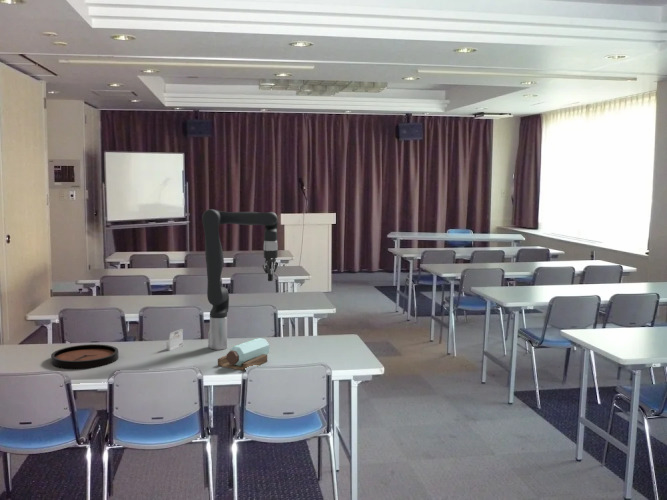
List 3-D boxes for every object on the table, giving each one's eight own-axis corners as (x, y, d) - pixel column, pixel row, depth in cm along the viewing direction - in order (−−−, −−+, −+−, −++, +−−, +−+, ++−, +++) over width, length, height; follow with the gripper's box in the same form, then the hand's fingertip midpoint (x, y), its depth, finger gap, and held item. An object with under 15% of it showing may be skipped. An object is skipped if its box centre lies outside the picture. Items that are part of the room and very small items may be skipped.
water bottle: (267, 359, 323) (235, 372, 302) (253, 349, 327) (221, 361, 306) (273, 343, 320) (242, 354, 298) (259, 333, 324) (227, 343, 303)
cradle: (217, 365, 307) (217, 358, 307) (238, 356, 323) (238, 350, 323) (247, 371, 300) (247, 364, 299) (267, 361, 316) (267, 354, 315)
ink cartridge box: (166, 350, 333) (166, 332, 332) (179, 345, 343) (179, 328, 342) (169, 350, 332) (169, 332, 331) (183, 346, 342) (183, 328, 341)
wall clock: (98, 341, 334) (130, 352, 314) (98, 348, 335) (130, 360, 315) (39, 352, 311) (70, 365, 290) (39, 360, 311) (70, 374, 291)
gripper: (271, 247, 343) (270, 278, 345) (258, 249, 331) (257, 282, 333) (282, 248, 340) (282, 279, 342) (270, 250, 328) (269, 283, 330)
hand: (270, 280), depth 338 cm, fingers closed
